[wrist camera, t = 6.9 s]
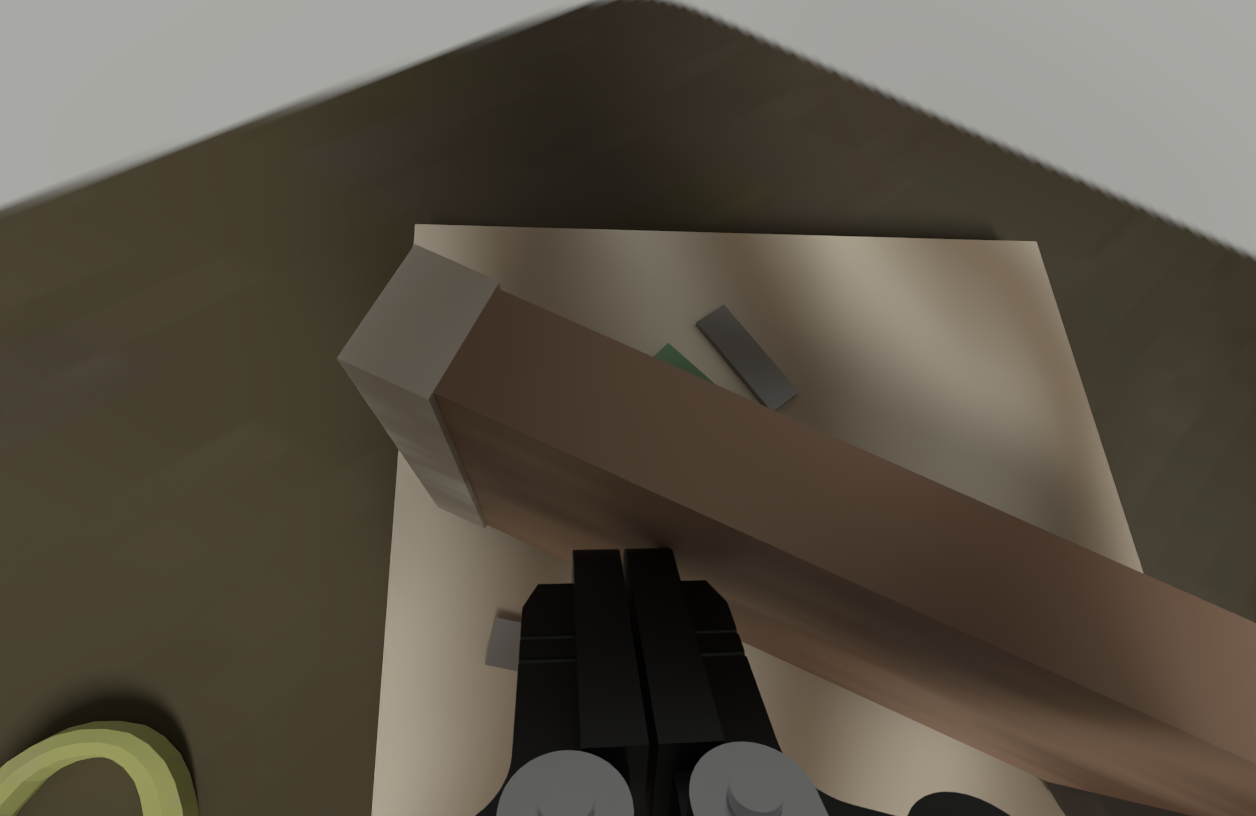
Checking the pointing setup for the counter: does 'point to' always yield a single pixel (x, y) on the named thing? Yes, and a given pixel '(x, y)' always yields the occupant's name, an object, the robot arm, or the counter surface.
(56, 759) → the key
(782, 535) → the brown wood panel
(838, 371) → the beige flat square sheet
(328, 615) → the counter surface
